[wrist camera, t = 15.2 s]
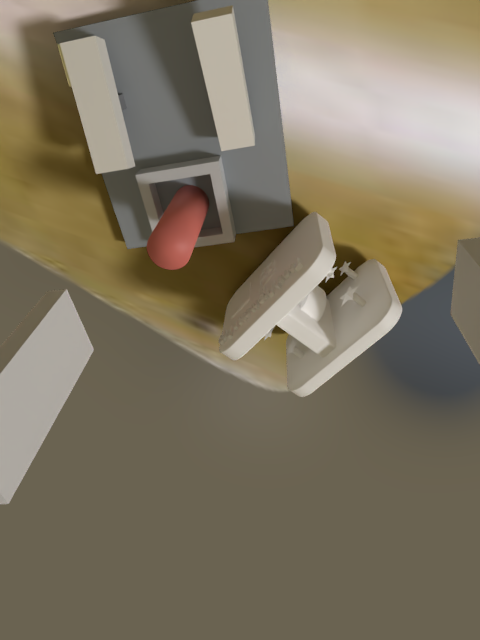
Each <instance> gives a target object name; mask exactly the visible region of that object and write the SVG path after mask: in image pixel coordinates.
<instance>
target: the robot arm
mask: <svg viewBox="0 0 480 640" xmlns="http://www.w3.org/2000/svg"><path fill="white" fill-rule="evenodd" d="M451 316H452V318H453V319H454V321H455V323H456V324H457V326H458V328H459V330H460V331H461V333H462V335H463V337H464V338H465V340H466V342H467V343H468V345H469V347H470V348H471V350H472V352H473V354H474V355H475V357H476V359H477V361H478V362H479V364H480V237H479V238H471V239H463V240H458V245H457V255H456V265H455V275H454V285H453V295H452V305H451ZM93 351H94V349H93V347H92V345H91V342H90V340H89V338H88V335H87V333H86V331H85V329H84V327H83V324H82V322H81V320H80V318H79V315H78V313H77V311H76V309H75V306H74V304H73V302H72V300H71V298H70V295H69V293H68V291H67V289H62V290H54V291H47V292H46V293H45V294H44V295H43V297H42V298H41V299H40V300H39V301H38V303H37V304H36V305H35V306H34V307H33V308H32V310H31V311H30V312H29V313H28V314H27V316H26V317H25V318H24V319H23V320H22V321H21V323H20V324H19V325H18V326H17V327H16V329H15V330H14V331H13V332H12V334H10V336H9V337H8V338H7V339H6V340H5V342H4V343H3V344H2V345H1V346H0V504H9V502H10V500H11V498H12V496H13V495H14V493H15V491H16V489H17V487H18V485H19V484H20V482H21V480H22V478H23V477H24V475H25V473H26V471H27V469H28V468H29V466H30V464H31V462H32V460H33V459H34V457H35V455H36V453H37V451H38V450H39V448H40V446H41V444H42V442H43V440H44V439H45V437H46V435H47V433H48V432H49V430H50V428H51V426H52V424H53V422H54V421H55V419H56V417H57V415H58V414H59V412H60V410H61V408H62V406H63V405H64V403H65V401H66V399H67V397H68V396H69V394H70V392H71V390H72V388H73V387H74V385H75V383H76V381H77V379H78V377H79V376H80V374H81V372H82V370H83V369H84V367H85V365H86V363H87V361H88V360H89V358H90V356H91V354H92V352H93Z"/></svg>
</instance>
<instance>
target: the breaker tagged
mask: <svg viewBox="0 0 480 640" xmlns="http://www.w3.org/2000/svg"><path fill="white" fill-rule="evenodd" d="M58 49H59V52H60V56H61V59H62V63H63V66H64V70H65V74H66V77H67V81H68V84H69V86H70V87H72V90H73V93H74V97H75V100H76V104H77V107H78V111H79V115H80V118H81V122H82V125H83V129H84V132H85V136H86V140H87V143H88V147H89V150H90V154H91V158H92V161H93V165H94V168H95V172H96V174H100V173H106V172H112V171H118V170H124V169H129V168H132V167H135V163H134V158H133V154H132V150H131V146H130V142H129V138H128V134H127V130H126V126H125V121H124V117H123V113H122V109H121V105H120V101H119V97H118V93H117V89H116V85H115V80H114V76H113V72H112V68H111V64H110V60H109V56H108V52H107V48H106V43H105V40H104V39H102V38H100V37H97V36H91V37H86V38H82V39H77V40H73V41H68V42H64V43H60V44H58Z"/></svg>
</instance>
